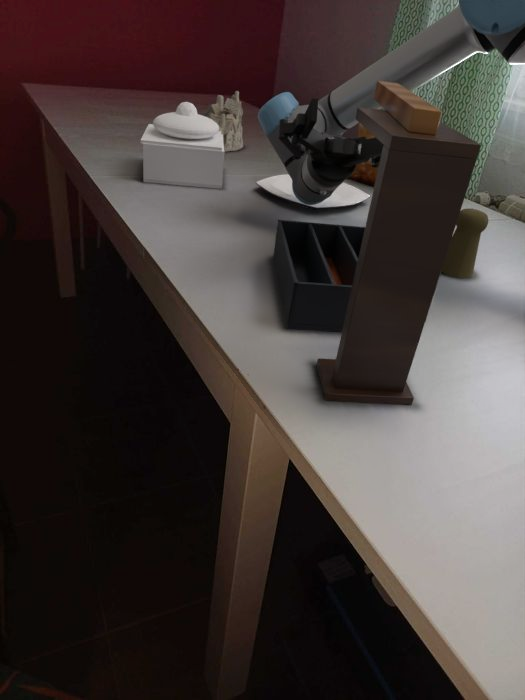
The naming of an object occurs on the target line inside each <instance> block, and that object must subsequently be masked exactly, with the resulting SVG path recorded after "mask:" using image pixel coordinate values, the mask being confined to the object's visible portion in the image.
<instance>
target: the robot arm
mask: <svg viewBox="0 0 525 700" xmlns="http://www.w3.org/2000/svg"><path fill="white" fill-rule="evenodd" d="M495 50H497V52H498V53H499V54H500V55H501V56H502V58H503V59H504V60H505V61H506V62H507V63H508V65H525V0H458V6H456V7H455V8H454V9H452V10H450V12H448V13H446V14H445V15H443V16H442V17H440V18H439V19H437V20H436V21H434V22H433V23H432V24H430V25H429V26H427V27H426V28H424V29H423V30H421V31H420V32H418V33H417V34H415V35H414V36H412V37H410V38H409V39H408V40H406V41H404V42H403V43H402V44H400V45H399V46H397V47H396V48H394V49H393V50H391V51H390V52H389V53H387V54H385V55H384V56H383V57H380V59H378V60H376V61H375V62H374V63H372V64H371V65H369V66H368V67H367V68H365V69H363V70H362V71H360V72H359V73H357V74H356V75H354V76H353V77H351V78H350V79H348V80H347V81H345V82H344V83H343V84H341V85H340V86H338V87H337V88H335V89H333V90H332V91H331V92H330V93H327V94H326V95H325V96H324V97H322V98H321V99H319V98H314V97H313V98H311V100H310V102H309V104H303V105H300V103H299V101H298V100H297V99H296V97H295V96H294V95H293V93H291V92H289V91H285V92H281V93H279V94H277V95H275V96H273V97H272V98H271V99H269V100H268V101H267V102H266V103H264V104H263V105H262V106H261V108H260V109H259V111H258V113H257V119H258V122H259V124H260V126H261V128H262V130H263V132H264V136H266V138H267V139H268V141H269V143H270V144H271V146H272V148H273V149H274V151H275V153H276V154H277V157H278V158H279V159H280V161H281V163H282V164H283V166H284V168H285V170H286V172H287V174H289V175H290V177H291V179H292V189H293V193H294V195H295V196H296V198H297V199H298V200H299V201H300V202H302V203H304V204H308V205H315V204H318V203H321V202H322V201H324V200H325V199H327V198H328V197H330V196H331V195H332V193H333V192H334V191H335V190H336V189H337V188H338V187H339V186H340V185H341V184H342V183H345V181H346V180H347V179H349V178H348V177H349V176H350V175H351V174H352V173H353V171H354V169H355V168H356V165H357V164H360V163H364V162H368V161H370V162H371V164H372V165H371V166H372V167H374V168H377V167H379V163H380V159H381V154H382V150H383V146H384V144H382V143H381V142H380V141H379V140H378V139H377V138H376V137H375V138H370V139H368V138H366V137H359V138H358V137H354V138H351V137H348V138H347V137H345V136H343V134H344V133H346V132H347V131H348V130H350V129H351V128H353V127H355V126H356V125H359V124H360V123H359V122H358V121H357V120H356V119H355V118H356V113H357V108H358V107H360V108H369V109H378V110H384V108H383V107H382V106H381V105H380V104H379V103H378V102H377V101H376V100H375V99H374V95H375V90H376V85H377V81H385V82H393V83H398V84H400V85H401V86H403V87H404V88H406V89H408V90H409V91H411V92H413V91H415V90H417V89H418V88H420V87H421V86H423V85H425V84H427V83H428V82H430V81H432V80H433V79H435V78H437V77H438V76H440V75H442V74H443V73H445V72H446V71H448V70H450V69H452V68H453V67H455V66H457V65H458V64H460V63H461V62H463V61H465V60H466V59H468V58H470V57H472V56H474V55H476V54H477V53H481V54H484V55H487V54H490V53H491V52H492V51H495ZM359 144H361V146H360V145H359Z"/></svg>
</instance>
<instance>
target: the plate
mask: <svg viewBox="0 0 525 700" xmlns="http://www.w3.org/2000/svg"><path fill="white" fill-rule="evenodd" d="M255 184H256V185H257V186H259V187H260V188H261V189H262V190H264V191H266V192H268V193H269V194H271V195H273V196H275V197H277V198H279V199H281V200H283V201H285V202H287V203H290V204H293V205H296V206H299V207H301V208H305V209H309V210H312V211H319V210H320V211H321V210H333V209H338V208H344V207H351V206H354V205H358V204H360V203H362V202H364V201H367V200H368V199H370V198H371V195H369V194H368V193H366V192H365V191H363V190H361V189H359V188H358V187H355V186H353V185H350V184H349V183H346V182H343V183H342V184H341V185H340V186H339V187H338V188H337V189H336V190H335V191H334V192H333V193H332V195H331V196H330V197H328V198H327V199H325V200H324V201H322V202H321V203H318V204H315V205H308V204H304V203H302V202H300V201H299V200H298V199H297V198H296V196H295V195H294V193H293V189H292V179H291V177H290V175H289V174H288V173H287V174H286V173H285V174H278V175H272V176H269V177H265V178H263V179H260V180H257V181H255Z"/></svg>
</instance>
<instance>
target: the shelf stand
mask: <svg viewBox="0 0 525 700" xmlns="http://www.w3.org/2000/svg"><path fill="white" fill-rule="evenodd" d="M355 119H356V120H357V121H358V122H359V123H358V124H361V125H363V126H364V127H365V128H366V129H367V130H368V131H369V132H370V133H371V134H373V135H374V136H375V137H376V138H377V139H378V140H379V141H380V142H381V143H382V144H384V146H383V150H382V154H381V159H380V163H379V168H378V172H377V177H376V181H375V186H373V191H372V194H371V200H370V205H369V208H368V213H367V218H366V221H365V226H364V227H365V231H364V235H363V240H362V244H361V249H360V253H359V258H358V262H357V267H356V271H355V276H354V280H353V285H352V289H351V293H350V298H349V302H348V307H347V311H346V316H345V320H344V325H343V329H342V332H341V335H340V339H339V344H338V347H337V353H336V357H335V358H317V361H316V368H317V372H318V376H319V379H320V383H321V388H322V392H323V395H324V399H325V401H327V402H345V403H346V402H350V403H371V404H388V405H390V404H391V405H413V402H414V401H415V400H414V399H415V396H414V395H413V392H412V391H411V389H410V387H409V384H408V383H407V381H408V377H409V374H410V371H411V368H412V365H413V361H414V359H415V355H416V352H417V349H418V346H419V342H420V339H421V337H422V334H423V330H424V327H425V323H426V321H427V318H428V314H429V312H430V308H431V306H432V305H431V304H432V301H433V298H434V295H435V292H436V289H437V286H438V283H439V280H440V276H441V273H442V272H441V270H442V267H443V264H444V261H445V258H446V255H447V251H448V248H449V245H450V242H451V239H452V236H453V234H454V232H455V230H456V227H457V226H456V223H457V220H458V217H459V214H460V211H461V210H462V207H463V204H464V200H465V197H466V195H467V191H468V188H469V185H470V181H471V178H472V175H473V173H474V170H475V166H476V162H477V160H478V157H479V153H480V151H481V148H482V144H481V143H479V142H477V141H476V140H473V139H472V138H470V137H469V136H467V135H465V134H463V133H462V132H460V131H458V130H456V129H455V128H453V127H451V126H449V125H447V124H445V123H443V122H442V121H440V122H439V126H438V130H437V133H436V135H429V134H421V133H413V132H409V131H408V130H407V129H405V128H404V127H403V126H402V125H401V124H400V123H399V122H398V121H397V120H396V119H395V118H394V117H393V116H392V115H391V114H390V113H389V112H387V111H386V110H385V109H381V110H378V109H369V108H360V107H358V108H357V113H356V118H355Z"/></svg>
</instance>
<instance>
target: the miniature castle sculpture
mask: <svg viewBox="0 0 525 700" xmlns="http://www.w3.org/2000/svg"><path fill="white" fill-rule="evenodd" d="M243 115H244V110H243V107H242V101H240V92H239V90H236V91H234V94H232V96H231V98H228V97H226V100H225V99H224V96H223V95H221V94H217V96H216V103H213V104H210V105H209V106H208V108H207V109H206V111H205V112H204V113H203V114H202V116H205V117H208V118H210V119H212V120H213V121H214V122H216V123H217V125H218V126H219V131H221V134H223V143H224V151H225V153H226V152H236V151H238V150H242V149H243V148H244V141H243V126H242V122H243V121H242V119H243Z"/></svg>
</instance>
